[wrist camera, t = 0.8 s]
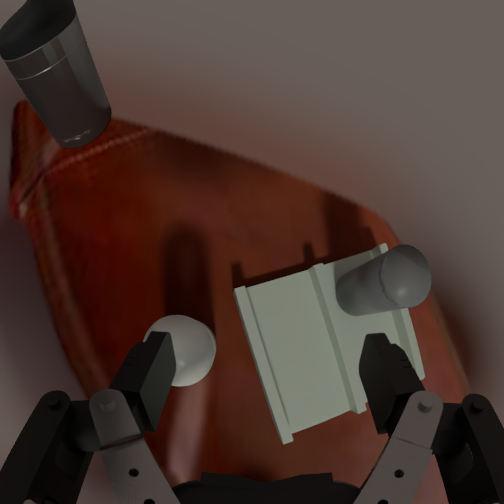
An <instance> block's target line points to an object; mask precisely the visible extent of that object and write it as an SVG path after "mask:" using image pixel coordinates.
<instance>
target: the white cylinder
mask: <svg viewBox="0 0 504 504" xmlns="http://www.w3.org/2000/svg"><path fill="white" fill-rule="evenodd" d="M151 331H160V332H169V333H170V334H171V338H172V343H173V348H174V353H175V358H176V373H175V376H174V379H173V382H172V385H173V386H188V385H191V384H194V383H196V382H198V381H200V380H201V379H202V378H203V377H205V375H206V374H207V373H208V372H209V370H210V368H211V366H212V364H213V360H214V357H215V353H216V349H217V342H216V338H215V335H214V333H213V332H212V330H211V329H210V328H209V327H208V326H207V325H205V324H203V323H201V322H199V321H197V320H195V319H193V318H190V317H187V316H183V315H170V316H166V317H163V318H161V319H159V320H158V321H156V322H155V323H154V324H153V325H152V326H151V327H150V328H149V330H148V331H147V333H146V335H145V338H144V341H143V342H145V341H146V340H147V338H148V336H149V334H150V332H151Z"/></svg>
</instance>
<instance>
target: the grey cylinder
mask: <svg viewBox="0 0 504 504" xmlns="http://www.w3.org/2000/svg"><path fill="white" fill-rule="evenodd" d="M430 287H431V271H430V267H429V264H428V262H427V260H426V258H425V257H424V256H423V254H422V253H421V252H420V251H419V250H418V249H416V248H415V247H412V246H410V245H398V246H396V247H394V248H392V249H390V250H388V251H386V252H385V253H383V254H381V255H379V256H377V257H375V258H373V259H371V260H370V261H368V262H366V263H364V264H362V265H360V266H358V267H356V268H354V269H352V270H351V271H349V272H347V273H345V274H344V275H342V277H341V278H340V279H339V281H338V283H337V286H336V299H337V302H338V304H339V306H340V308H341V309H342V310H343V311H344V312H345V313H347V314H349V315H352V316H363V315H369V314H375V313H381V312H387V311H392V310H398V309H403V308H408V307H413V306H417V305H419V304H420V303H421V302H423V301H424V300H425V298H426V297H427V295H428V293H429V290H430Z"/></svg>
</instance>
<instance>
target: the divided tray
mask: <svg viewBox="0 0 504 504" xmlns="http://www.w3.org/2000/svg"><path fill="white" fill-rule="evenodd" d="M386 251H388V248H387V245H386V243H384V244H381V245H378V246H377V247H375V248H373V249H372V250H369V251H366V252H363V253H360V254H357V255H354V256H351V257H347V258H344V259H341V260H338V261H335V262H332V263H328V264H325V265H323V263H320V264H317V265H314V266H312V267H311V268H310V269H308V270H305V271H302V272H299V273H295V274H292V275H289V276H285V277H282V278H279V279H275V280H272V281H268V282H265V283H261V284H258V285H255V286H251V287H248V288H245V286H242V287H238V288H235V289H234V291H233V294H234V298H235V301H236V304H237V308H238V311H239V314H240V318H241V321H242V324H243V328H244V331H245V334H246V337H247V341H248V344H249V347H250V350H251V354H252V357H253V360H254V363H255V366H256V369H257V373H258V376H259V379H260V382H261V385H262V388H263V391H264V394H265V397H266V400H267V403H268V406H269V410H270V413H271V416H272V419H273V422H274V425H275V428H276V430H277V433H278V436H279V437H280V439H281V441H282V442H283V444H286V443H289V442H292V441H293V438H292V435H291V434H292V433H295V432H298V431H300V430H303V429H306V428H308V427H311V426H314V425H316V424H319V423H321V422H324V421H326V420H328V419H331V418H333V417H336V416H338V415H340V414H342V413H345V412H347V411H349V410H351V411H353V412H355V413H357V414H359V413H361V412H364V411H366V406H365V403H366V402H368V400H367V397H366V394H365V391H364V388H363V385H362V382H361V379H360V376H359V360H360V356H361V352H362V348H363V344H364V340H365V336H366V335H367V334H372V333H385V334H386V336H387V337H388V339H389V341H390V343H391V344H395V343H396V344H397V345H398V346H399V347H401V348H402V349H403V350H404V351H405V353H406V355H407V356H408V358H409V360H410V362H411V364H412V367H414V369H415V371H416V373H417V375H418V377H419V379H420V380H422V379H424V378H425V375H424V370H423V365H422V361H421V357H420V353H419V348H418V344H417V340H416V337H415V333H414V329H413V325H412V322H411V318H410V315H409V311H408V308H403V309H398V310H392V311H387V312H381V313H375V314H369V315H363V316H352V315H349V314H347V313H345V312H344V311H343V310H342V309H341V308H340V306H339V304H338V302H337V299H336V286H337V283H338V281H339V279H340V278H341V277H342V275H344V274H345V273H347V272H349V271H351V270H352V269H354V268H356V267H358V266H360V265H362V264H364V263H366V262H368V261H370V260H371V259H373V258H375V257H377V256H379V255H381V254H383V253H385V252H386Z"/></svg>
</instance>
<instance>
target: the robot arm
mask: <svg viewBox="0 0 504 504" xmlns="http://www.w3.org/2000/svg"><path fill="white" fill-rule="evenodd" d="M0 55H1V57H2V59H3V60H4V62H5V64H6V65H7V67H8V69H9V70H10V72H11V73H12V75H13V77H14V78H15V80H16V82H17V83H18V85H19V86H20V88H21V90H22V91H23V93H24V94H25V96H26V98H27V99H28V101H29V102H30V104H31V105H32V107H33V108H34V110H35V111H36V113H37V114H38V116H39V117H40V119H41V120H42V122H43V123H44V125H45V126H46V128H47V129H48V130H49V132H50V133H51V135H52V136H53V137H54V139H55V140H56V142H57V143H58V144H59V145H60V146H62V147H64V148H76V147H80V146H83V145H85V144H87V143H89V142H91V141H92V140H94V139H95V138H96V137H97V136H99V135H100V134H101V133H102V132H103V130H104V129H105V128H106V126H107V125H108V123H109V121H110V118H111V114H112V113H111V107H110V104H109V102H108V99H107V97H106V94H105V92H104V89H103V86H102V83H101V81H100V78H99V76H98V73H97V70H96V68H95V65H94V62H93V59H92V57H91V54H90V51H89V48H88V46H87V42H86V39H85V37H84V34H83V31H82V28H81V25H80V22H79V19H78V16H77V13H76V9H75V6H74V3H73V0H27V1H26V3H25V4H24V5H23V6H22V7H21V8H20V9H19V10H18V11H17V12H16V13H15V14H14V15H13V16H12V17H11V18H10V19H9V20H8V21H7V22H6V23H5V24H4V25H3V27H2V28H1V29H0ZM175 373H176V358H175V353H174V348H173V343H172V338H171V334H170V333H169V332H160V331H151V332H150V334H149V336H148V338H147V340H146V341H145V342H139V343H137V344H136V345H135V346H134V347H132V348H131V349H130V351H129V353H128V355H127V356H126V358H125V360H124V362H123V365H121V367H120V369H119V370H118V372H117V374H116V376H115V378H114V379H113V381H112V383H111V385H110V387H109V388H108V389H104V390H101V391H99V392H97V393H95V394H94V395H93V396H92V398H91V399H90V400H83V401H71V400H70V398H69V396H68V395H67V394H66V393H65V392H63V391H57V390H56V391H51V392H48V393H46V394H45V395H44V396H43V397H42V398H41V399H40V401H39V402H38V404H37V406H36V407H35V409H34V411H33V412H32V414H31V416H30V417H29V419H28V421H27V423H26V424H25V426H24V428H23V430H22V431H21V433H20V435H19V437H18V438H17V440H16V442H15V444H14V446H13V448H12V449H11V452H10V453H9V455H8V457H7V459H6V461H5V463H4V465H3V467H2V469H1V471H0V504H76V502H77V499H78V496H79V493H80V490H81V487H82V484H83V481H84V478H85V475H86V473H87V470H88V467H89V465H90V462H91V459H92V456H93V454H94V451H100V453H101V456H102V459H103V461H104V464H105V467H106V469H107V472H108V475H109V477H110V479H111V482H112V484H113V487H114V489H115V491H116V494H117V496H118V498H119V501H120V503H121V504H411V502H412V500H413V498H414V496H415V494H416V492H417V489H418V487H419V485H420V483H421V480H422V478H423V475H424V473H425V471H426V468H427V466H428V463H429V460H430V458H431V455H432V454H435V457H436V460H437V463H438V466H439V469H440V473H441V476H442V480H443V483H444V487H445V491H446V494H447V498H448V502H449V504H504V428H503V426H502V424H501V422H500V420H499V419H498V416H497V415H496V413H495V411H494V409H493V407H492V405H491V404H490V402H489V400H488V399H486V398H485V397H484V396H482V395H479V394H469V395H467V396H466V397H465V398H464V399H463V401H462V402H461V404H456V403H442V400H441V399H440V398H439V397H438V396H437V395H436V394H434V393H432V392H429V391H426V390H425V388H424V386H423V384H422V382H421V381H420V379H419V377H418V375H417V373H416V371H415V369H414V367H412V364H411V362H410V360H409V358H408V356H407V355H406V353H405V351H404V350H403V349H402V348H401V347H399V346H398V345H397V344H396V343H395V344H391V343H390V341H389V339H388V337H387V336H386V334H385V333H372V334H367V335H366V336H365V340H364V344H363V348H362V352H361V356H360V360H359V376H360V379H361V382H362V385H363V388H364V391H365V394H366V397H367V400H368V403H369V407H370V410H371V413H372V416H373V419H374V423H375V426H376V429H377V433H378V434H384V433H388V436H389V439H388V441H387V443H386V445H385V447H384V448H383V450H382V452H381V454H380V456H379V458H378V459H377V461H376V463H375V465H374V466H373V468H372V470H371V471H370V473H369V475H368V476H367V478H366V479H365V481H364V483H363V484H362V486H361V487H360V488H358V487H356V486H354V485H352V484H349V483H346V482H342V481H337V480H333V478H332V472H331V473H321V474H307V475H298V476H294V477H290V478H286V479H282V480H277V481H273V482H261V481H257V480H253V479H249V478H245V477H241V476H237V475H232V474H218V473H208V472H202V475H201V479H200V480H193V481H188V482H185V483H182V484H179V485H177V486H174V487H173V488H170V486H169V484H168V483H167V481H166V479H165V478H164V476H163V474H162V472H161V471H160V469H159V467H158V465H157V463H156V462H155V460H154V458H153V456H152V454H151V452H150V450H149V448H148V446H147V444H146V442H145V440H144V438H143V437H144V434H145V431H149V432H155V431H156V428H157V425H158V422H159V419H160V416H161V413H162V410H163V408H164V405H165V402H166V399H167V396H168V393H169V390H170V387H171V385H172V382H173V379H174V376H175ZM468 445H469V446H468ZM469 448H470V449H469ZM470 450H471V451H470ZM471 453H472V454H471Z"/></svg>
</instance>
